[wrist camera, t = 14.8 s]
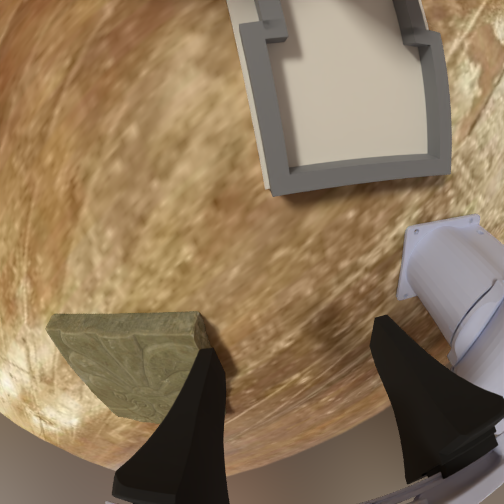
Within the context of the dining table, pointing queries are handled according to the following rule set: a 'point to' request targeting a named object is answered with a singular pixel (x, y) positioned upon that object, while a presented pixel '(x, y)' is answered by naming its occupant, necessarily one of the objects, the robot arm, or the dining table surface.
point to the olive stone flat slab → (131, 357)
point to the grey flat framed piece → (343, 91)
